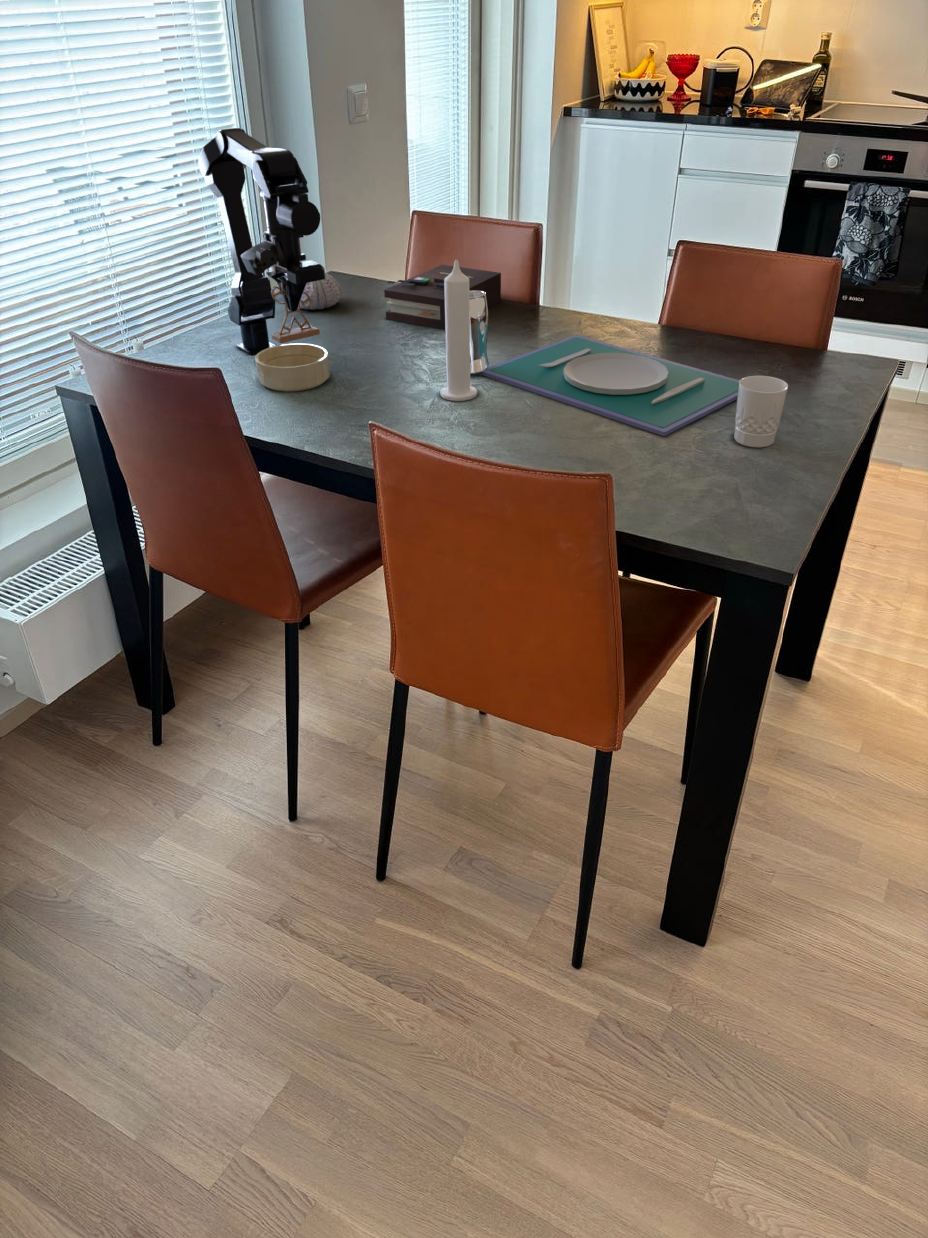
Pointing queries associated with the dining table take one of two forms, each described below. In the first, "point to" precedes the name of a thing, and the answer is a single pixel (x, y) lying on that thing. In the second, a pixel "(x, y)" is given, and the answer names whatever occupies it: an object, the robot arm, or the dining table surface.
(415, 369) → the dining table surface
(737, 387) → the place mat
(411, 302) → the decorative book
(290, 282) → the robot arm
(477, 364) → the beer glass
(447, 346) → the candle
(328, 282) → the sea urchin shell
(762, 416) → the white cup
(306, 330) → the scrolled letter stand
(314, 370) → the bowl
